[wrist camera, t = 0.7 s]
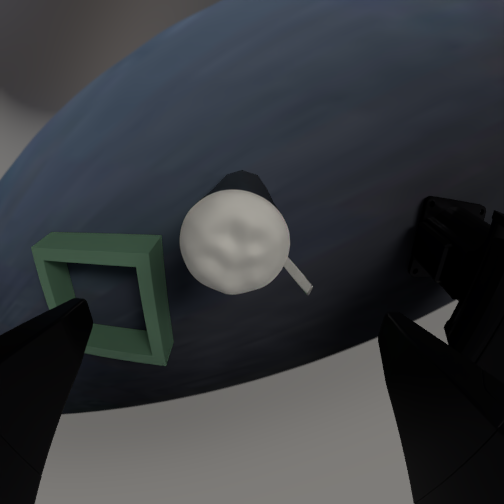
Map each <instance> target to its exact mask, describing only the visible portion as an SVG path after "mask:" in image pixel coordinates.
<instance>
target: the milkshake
mask: <svg viewBox="0 0 504 504" xmlns="http://www.w3.org/2000/svg"><path fill="white" fill-rule="evenodd" d="M289 248H290V235H289V230H288V227H287V224H286V222H285V220H284V218H283V217H282V215H281V213H280V212H279V210H278V208H277V207H276V205H275V204H274V202H273V200H272V198H271V196H270V194H269V192H268V190H267V188H266V186H265V185H264V184H263V182H262V181H261V179H260V178H259V177H258V175H256V174H253V173H250V172H247V171H244V170H240V171H237V172H234V173H230V174H227V175H226V176H225V177H224V178H223V179H222V180H221V181H220V182H219V183H218V184H217V185H216V186H215V187H214V188H213V189H212V190H211V191H210V192H209V193H208V194H207V195H205V196H204V197H203V198H202V199H201V200H200V201H199V202H197V203H196V204H195V205H194V206H193V207H192V208H191V209H190V211H189V212H188V213H187V215H186V217H185V219H184V221H183V224H182V227H181V231H180V249H181V254H182V257H183V259H184V262H185V264H186V266H187V268H188V270H189V271H190V273H191V274H192V275H193V277H194V278H195V279H196V280H198V281H199V282H200V283H202V284H203V285H205V286H207V287H210V288H212V289H215V290H217V291H219V292H222V293H225V294H231V295H235V294H241V293H245V292H248V291H252V290H256V289H259V288H262V287H264V286H266V285H267V284H269V283H270V282H271V281H272V280H273V279H274V278H275V277H276V276H277V275H278V274H279V272H280V271H281V269H282V268H283V266H284V267H285V269H286V270H287V271H288V272H289V274H290V275H291V276H292V277H293V279H294V280H295V281H296V282H297V283H298V285H299V286H300V287H301V288H302V290H303V291H304V292H305V293H306V294H307V295H309V294H310V292H311V290H312V288H313V286H312V284H311V283H310V282H309V281H308V279H307V278H306V277H305V276H304V275H303V274H302V272H301V271H300V270H299V269H298V268H297V267H296V265H295V264H294V263H293V262H292V261H291V260H290V259H289V257H288V253H289Z"/></svg>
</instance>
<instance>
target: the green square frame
mask: <svg viewBox="0 0 504 504" xmlns="http://www.w3.org/2000/svg"><path fill="white" fill-rule="evenodd" d="M31 249H32V253H33V257H34V261H35V265H36V268H37V272H38V275H39V279H40V282H41V286H42V289H43V292H44V295H45V298H46V301H47V304H48V307H49V310H50V309H52V308H54V307H56V306H58V305H60V304H62V303H64V302H67V301H69V300H71V299H73V298H76V297H75V293H74V290H73V286H72V282H71V278H70V274H69V270H68V266H67V262H71V263H85V264H99V265H113V266H128V267H136V270H137V277H138V283H139V289H140V295H141V301H142V307H143V312H144V317H145V323H146V328H147V331H145V330H137V329H129V328H121V327H113V326H106V325H99V324H93V328H92V331H91V334H90V337H89V340H88V343H87V346H86V349H85V352H84V353H87V354H92V355H97V356H102V357H108V358H114V359H120V360H126V361H133V362H139V363H146V364H154V365H162V366H166V365H167V362H168V359H169V355H170V352H171V349H172V346H173V342H174V341H173V334H172V327H171V320H170V312H169V304H168V296H167V287H166V278H165V269H164V258H163V247H162V235H139V234H107V233H69V232H51V233H50V234H48V235H47V236H46V237H44V238H43V239H42V240H40V241H39V242H38V243H36V244H35V245H34V246H32V247H31Z"/></svg>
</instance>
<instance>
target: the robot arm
mask: <svg viewBox="0 0 504 504" xmlns="http://www.w3.org/2000/svg"><path fill="white" fill-rule="evenodd" d="M431 201H432V204H431V205H430V206H429V203H430V202H431ZM480 210H481V212H480ZM485 214H486V208H485V207H484V206H482V205H480V204H475V203H469V202H464V201H458V200H452V199H446V198H440V197H434V196H428V197H427V198H426V199H425V201H424V206H423V210H422V215H421V220H420V223H419V225H418V229H417V233H416V237H415V241H414V245H413V249H412V253H411V254H412V256H411V260H410V264H409V267H408V273H409V274H410V275H411V276H413V277H432V278H433V279H434V281H435V282H438V283H439V284H440V285H441V286H442V287H443V289H444V290H445V291H446V292H447V293H448V294H449V296H450V297H451V298H452V299H457V300H458V301H459V302H458V304H457V306H456V308H455V310H454V312H453V314H452V316H451V318H450V319H449V320H448V321H447V322H446V324H445V326H444V330H445V333H446V337H447V341H448V345H447V344H446V343H444V342H443V341H441V340H440V339H438V338H437V337H436V336H434V335H433V334H431V333H430V332H428V331H427V330H425V329H424V328H422V327H421V326H419V325H418V324H416V323H415V322H413V321H412V320H410V319H409V318H407V317H406V316H404V315H403V314H401V313H399V312H389V313H387V314H386V315H385V317H384V319H383V322H382V326H381V329H380V332H379V335H378V343H379V347H380V353H381V358H382V364H383V370H384V375H385V381H386V385H387V389H388V393H389V396H390V400H391V404H392V407H393V411H394V415H395V418H396V422H397V427H398V430H399V434H400V438H401V443H402V447H403V452H404V456H405V461H406V465H407V470H408V474H409V480H410V484H411V490H412V495H413V501H414V503H415V504H504V214H503V213H500V212H498V211H495V210H494V212H493V216H492V219H493V220H492V223H491V225H490V224H488V223H487V222H485V221H484V218H485ZM415 268H416V269H415ZM414 269H415V271H413V270H414ZM92 328H93V320H92V316H91V313H90V310H89V307H88V303H87V301H86V300H85V299H81V298H73V299H71V300H69V301H67V302H64V303H62V304H60V305H58V306H56V307H54V308H52V309H50V310H48V311H46V312H44V313H43V314H41V315H39V316H37V317H35V318H33V319H31V320H29V321H27V322H25V323H23V324H21V325H19V326H17V327H15V328H13V329H11V330H9V331H8V332H6V333H4V334H2V335H0V504H34V503H35V500H36V495H37V491H38V488H39V484H40V480H41V475H42V472H43V469H44V465H45V462H46V459H47V455H48V452H49V449H50V446H51V443H52V440H53V437H54V434H55V431H56V428H57V425H58V422H59V419H60V416H61V414H62V411H63V408H64V406H65V403H66V400H67V398H68V395H69V393H70V390H71V388H72V385H73V383H74V380H75V378H76V375H77V373H78V370H79V368H80V365H81V362H82V359H83V356H84V352H85V349H86V346H87V343H88V340H89V337H90V334H91V331H92Z"/></svg>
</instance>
